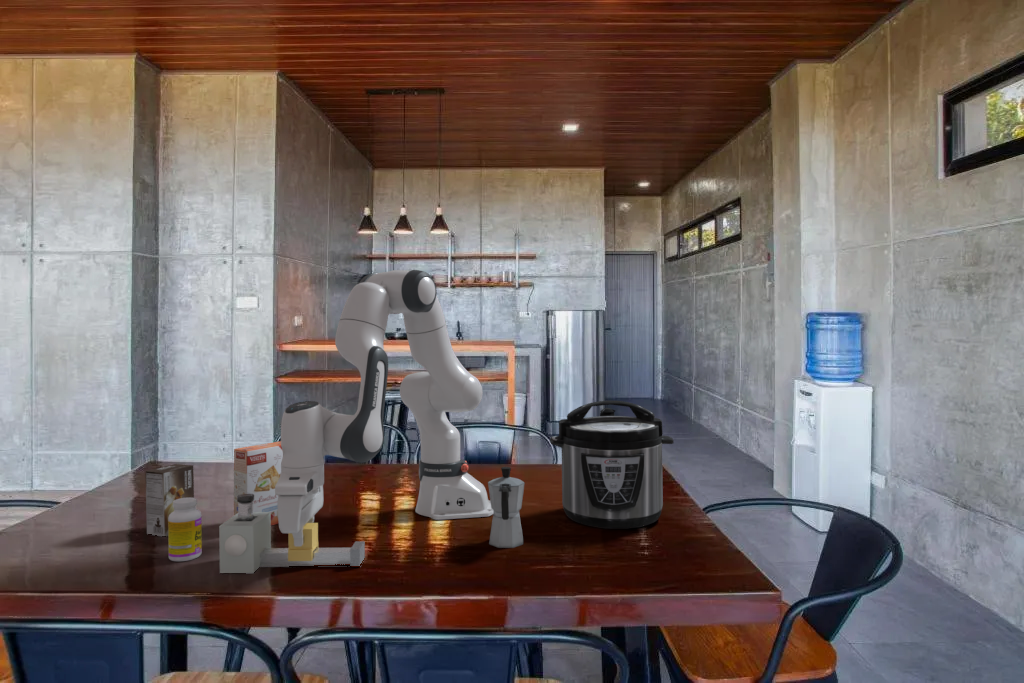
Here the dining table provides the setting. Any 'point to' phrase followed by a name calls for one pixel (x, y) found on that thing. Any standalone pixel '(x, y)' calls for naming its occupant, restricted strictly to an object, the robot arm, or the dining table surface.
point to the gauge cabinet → (244, 543)
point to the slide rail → (315, 556)
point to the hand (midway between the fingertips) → (303, 540)
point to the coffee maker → (506, 510)
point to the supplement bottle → (184, 530)
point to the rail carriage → (309, 544)
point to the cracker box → (258, 476)
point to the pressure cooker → (612, 466)
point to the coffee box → (166, 494)
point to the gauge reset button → (245, 507)
